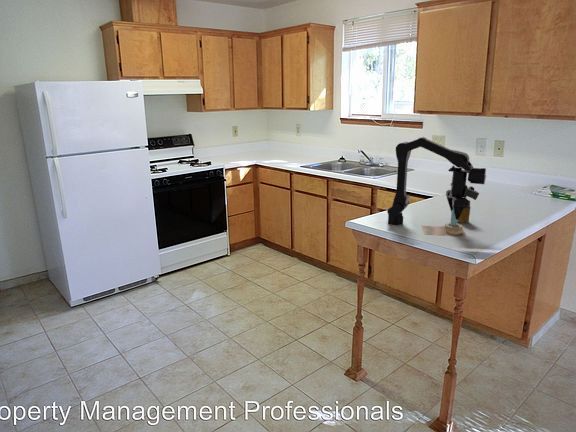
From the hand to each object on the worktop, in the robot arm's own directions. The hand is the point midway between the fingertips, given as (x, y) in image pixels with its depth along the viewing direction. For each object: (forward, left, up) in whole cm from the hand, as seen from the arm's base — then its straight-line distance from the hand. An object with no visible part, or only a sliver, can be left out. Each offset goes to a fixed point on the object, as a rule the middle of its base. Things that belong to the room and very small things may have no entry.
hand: (455, 216), depth 191 cm
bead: (0, 0, -7) cm, 7 cm away
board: (-4, +1, -8) cm, 9 cm away
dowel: (0, 0, -7) cm, 7 cm away
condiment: (+8, +16, -9) cm, 20 cm away
